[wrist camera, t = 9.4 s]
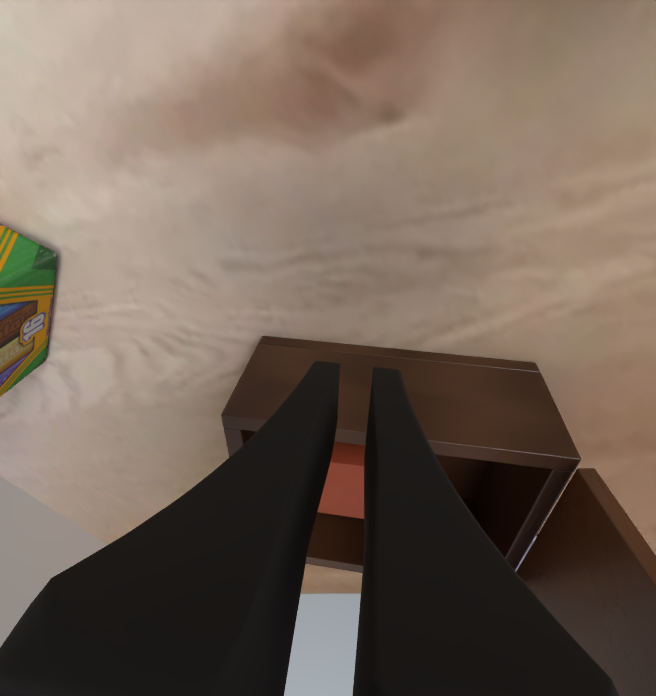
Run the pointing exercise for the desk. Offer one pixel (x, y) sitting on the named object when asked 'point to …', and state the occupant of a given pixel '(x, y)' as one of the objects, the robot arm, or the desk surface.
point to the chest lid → (598, 581)
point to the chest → (428, 433)
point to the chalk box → (23, 305)
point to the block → (344, 482)
